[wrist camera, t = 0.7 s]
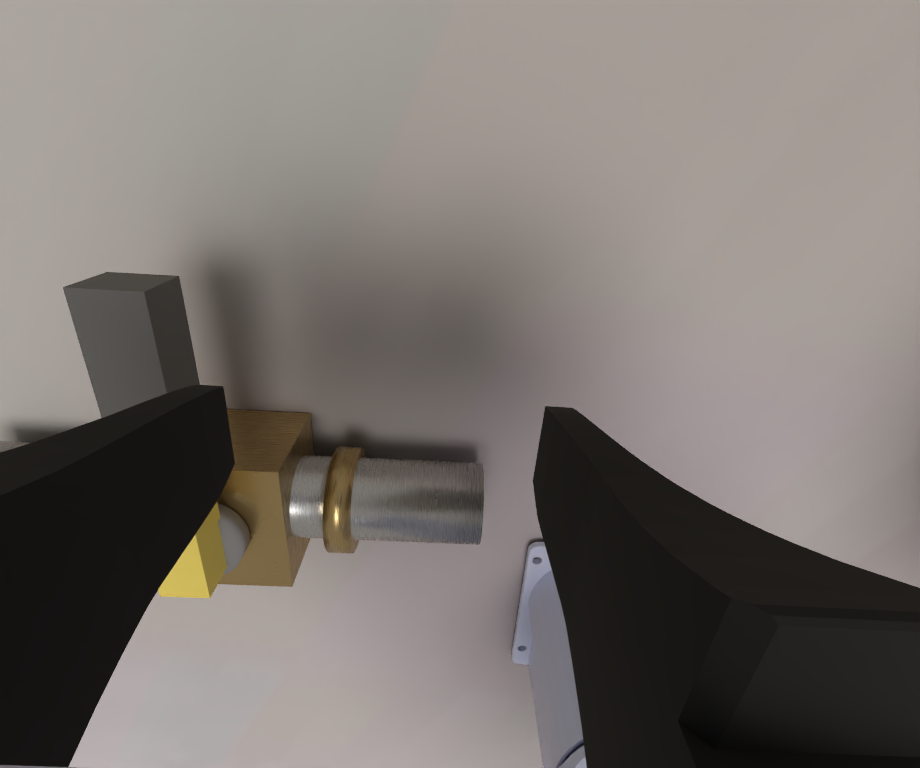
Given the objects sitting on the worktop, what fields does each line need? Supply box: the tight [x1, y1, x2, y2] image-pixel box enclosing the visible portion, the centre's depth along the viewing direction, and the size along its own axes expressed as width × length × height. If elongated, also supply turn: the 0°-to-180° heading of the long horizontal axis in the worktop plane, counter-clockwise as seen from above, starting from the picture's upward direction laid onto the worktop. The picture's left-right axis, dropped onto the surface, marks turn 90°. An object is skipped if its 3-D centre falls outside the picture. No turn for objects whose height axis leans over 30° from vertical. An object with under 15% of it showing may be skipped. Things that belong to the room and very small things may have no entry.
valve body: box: [0, 409, 484, 587], centre depth 22 cm, size 22×6×5 cm, turn 87°
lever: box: [63, 272, 250, 598], centre depth 17 cm, size 12×3×2 cm, turn 177°
